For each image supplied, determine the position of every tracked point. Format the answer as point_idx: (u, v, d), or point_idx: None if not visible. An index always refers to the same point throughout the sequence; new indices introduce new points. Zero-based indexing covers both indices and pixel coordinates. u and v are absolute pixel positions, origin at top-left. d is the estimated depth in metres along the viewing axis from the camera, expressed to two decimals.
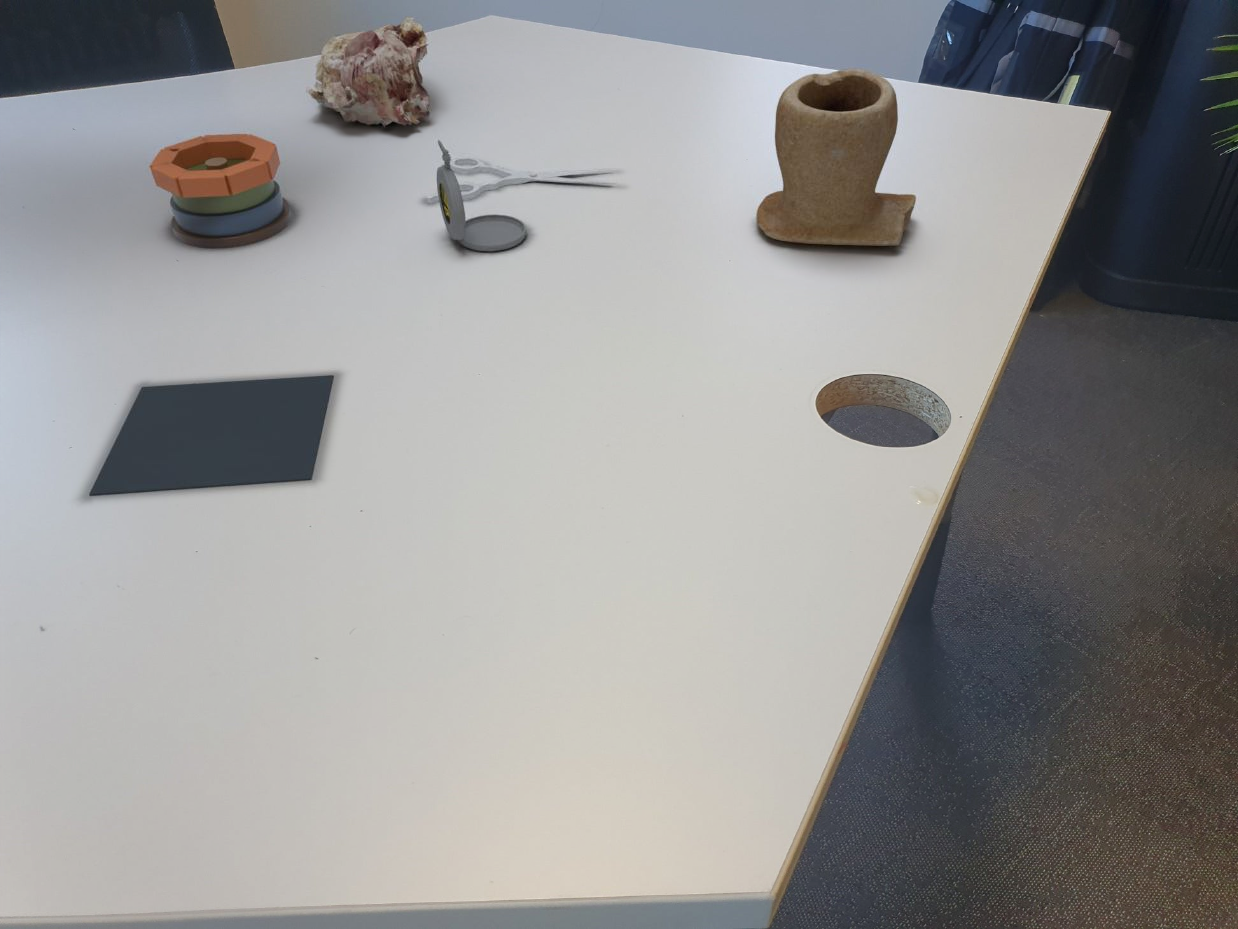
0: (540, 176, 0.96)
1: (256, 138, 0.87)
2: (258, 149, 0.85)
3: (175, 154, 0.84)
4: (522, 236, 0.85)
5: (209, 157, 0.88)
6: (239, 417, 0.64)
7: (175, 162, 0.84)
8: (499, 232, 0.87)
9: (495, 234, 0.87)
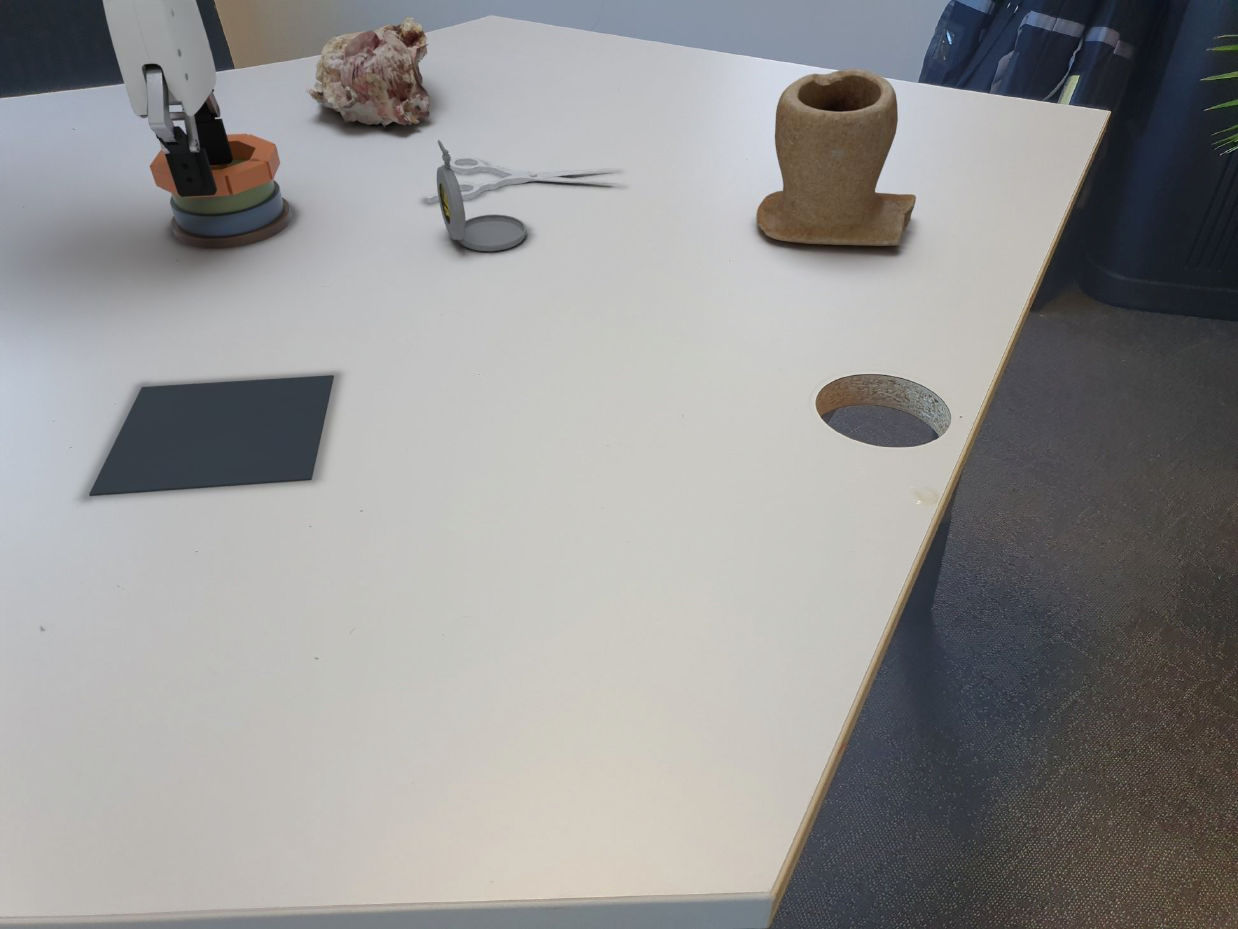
0: (540, 176, 0.96)
1: (256, 138, 0.87)
2: (258, 149, 0.85)
3: None
4: (522, 236, 0.85)
5: None
6: (239, 417, 0.64)
7: None
8: (499, 232, 0.87)
9: (495, 234, 0.87)
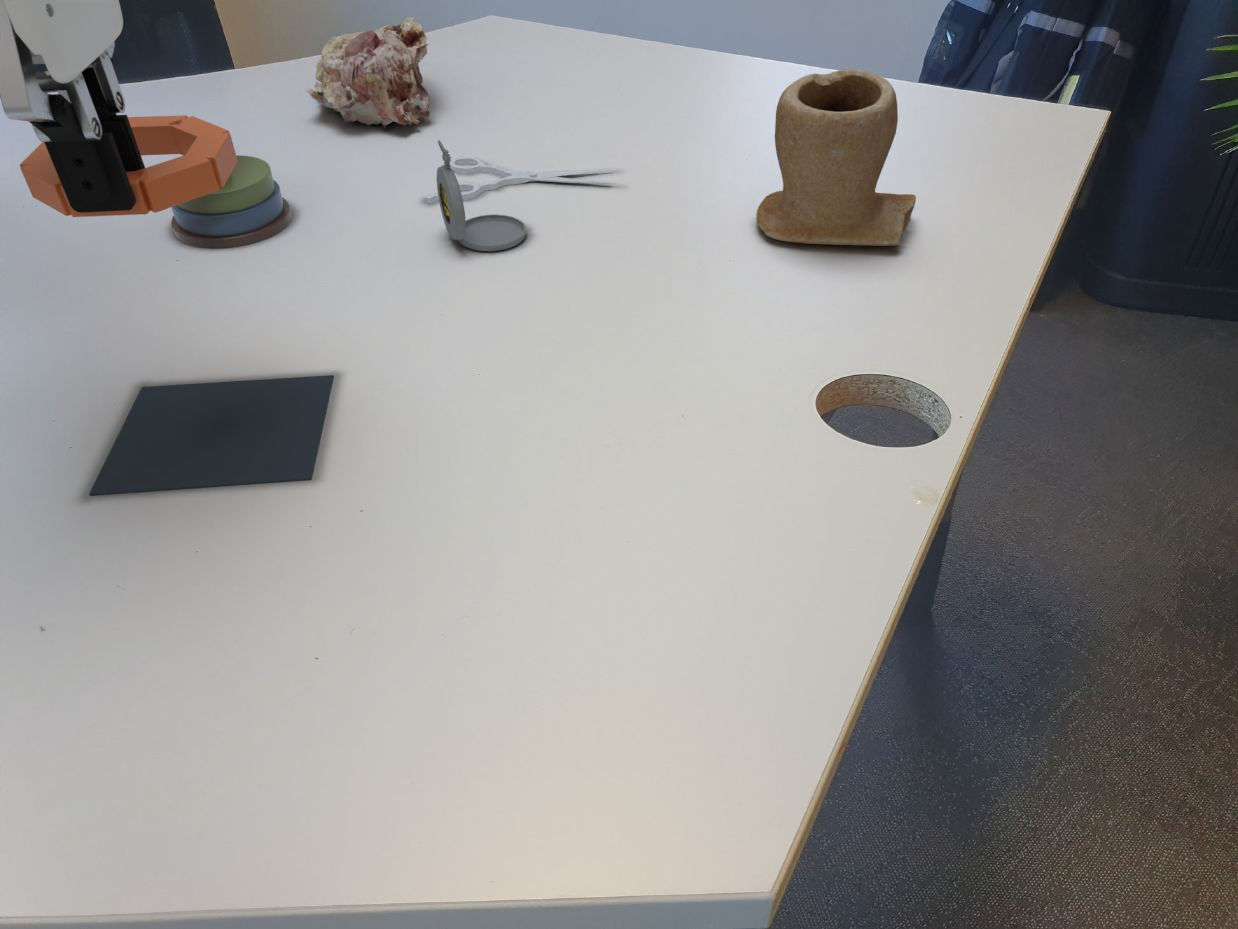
0: (540, 176, 0.96)
1: (200, 122, 0.55)
2: (201, 139, 0.53)
3: None
4: (522, 236, 0.85)
5: None
6: (239, 417, 0.64)
7: None
8: (499, 232, 0.87)
9: (495, 234, 0.87)
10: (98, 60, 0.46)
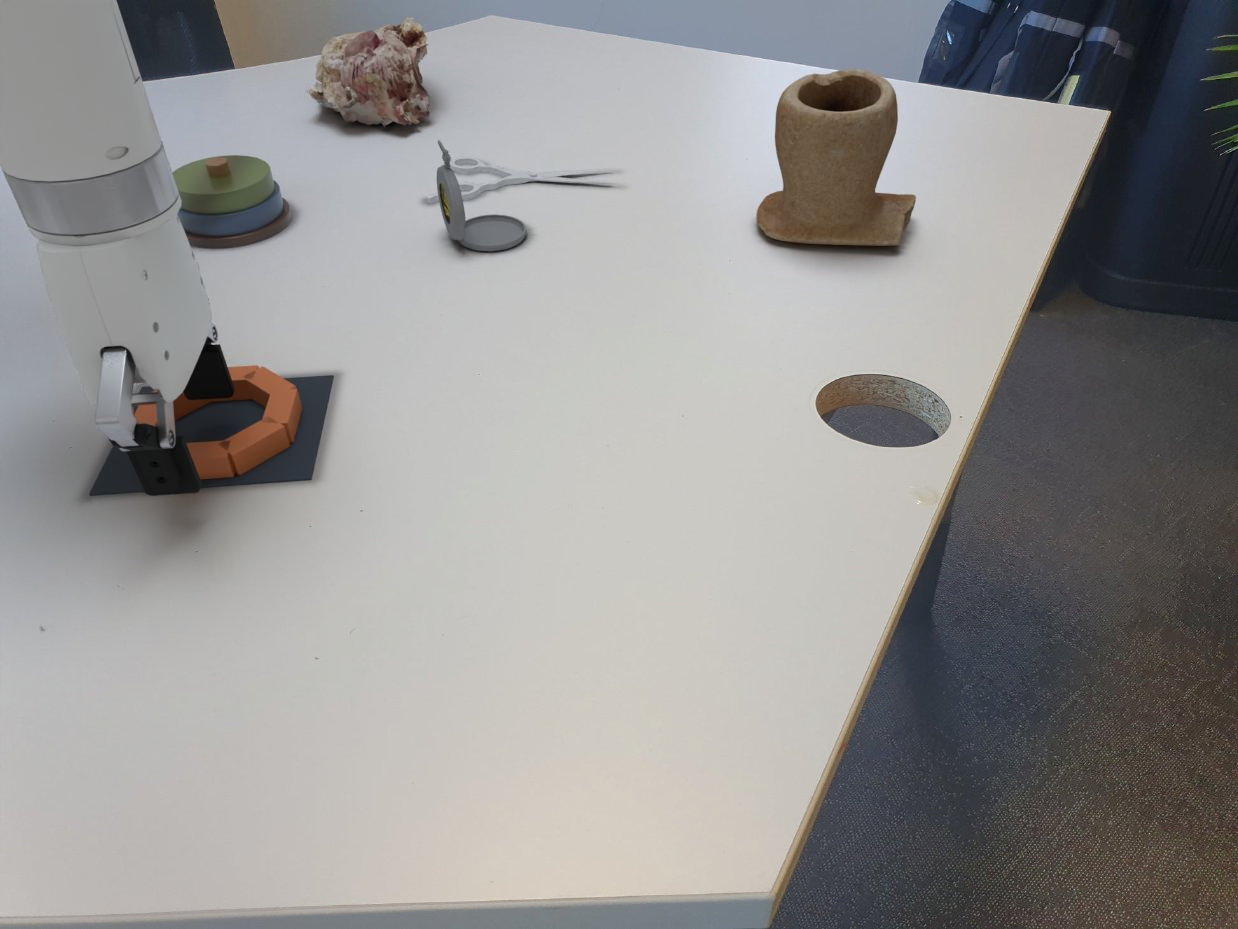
0: (540, 176, 0.96)
1: (270, 375, 0.65)
2: (273, 397, 0.63)
3: None
4: (522, 236, 0.85)
5: (208, 399, 0.65)
6: (239, 417, 0.64)
7: None
8: (499, 232, 0.87)
9: (495, 234, 0.87)
10: None
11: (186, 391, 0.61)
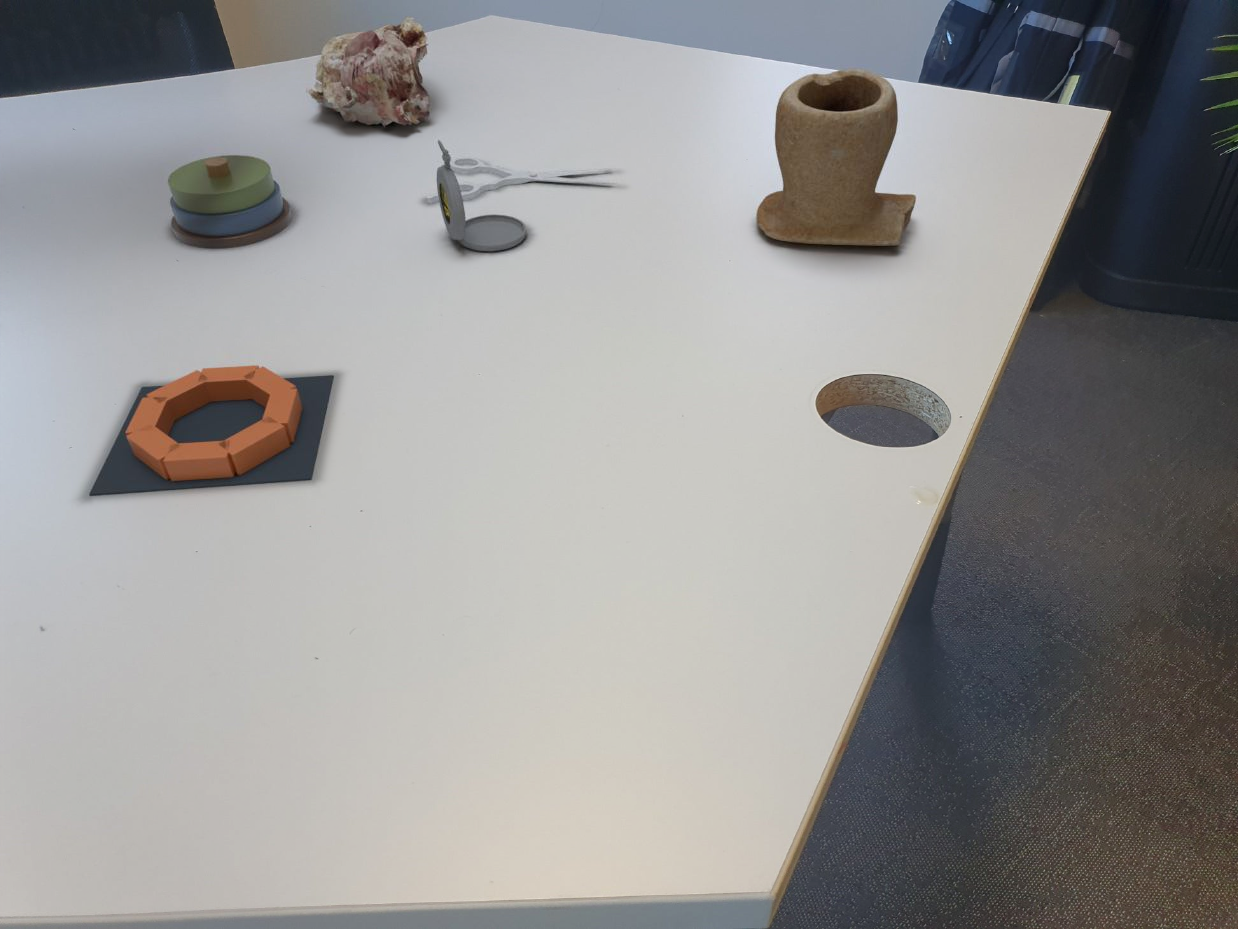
0: (540, 176, 0.96)
1: (270, 375, 0.65)
2: (273, 397, 0.63)
3: (160, 409, 0.62)
4: (522, 236, 0.85)
5: (208, 399, 0.65)
6: (239, 417, 0.64)
7: (161, 420, 0.62)
8: (499, 232, 0.87)
9: (495, 234, 0.87)
10: None
11: None
